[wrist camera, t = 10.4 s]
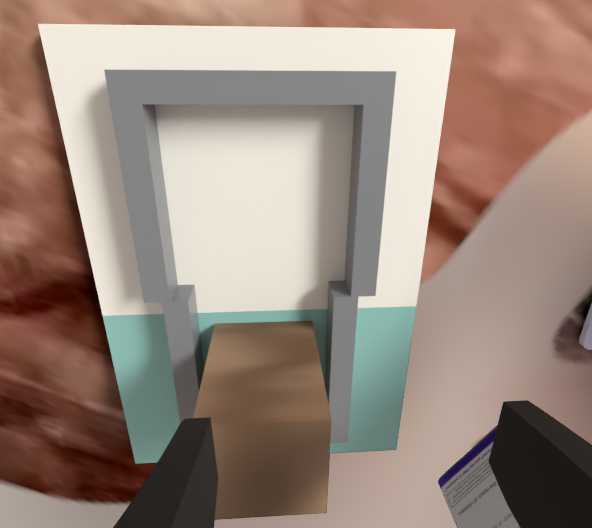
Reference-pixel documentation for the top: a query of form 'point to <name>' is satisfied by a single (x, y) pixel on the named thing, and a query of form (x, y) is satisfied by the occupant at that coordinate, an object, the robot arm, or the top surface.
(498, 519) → the supplement box
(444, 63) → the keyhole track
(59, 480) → the top surface
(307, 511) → the walnut block
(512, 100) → the top surface
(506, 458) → the robot arm
